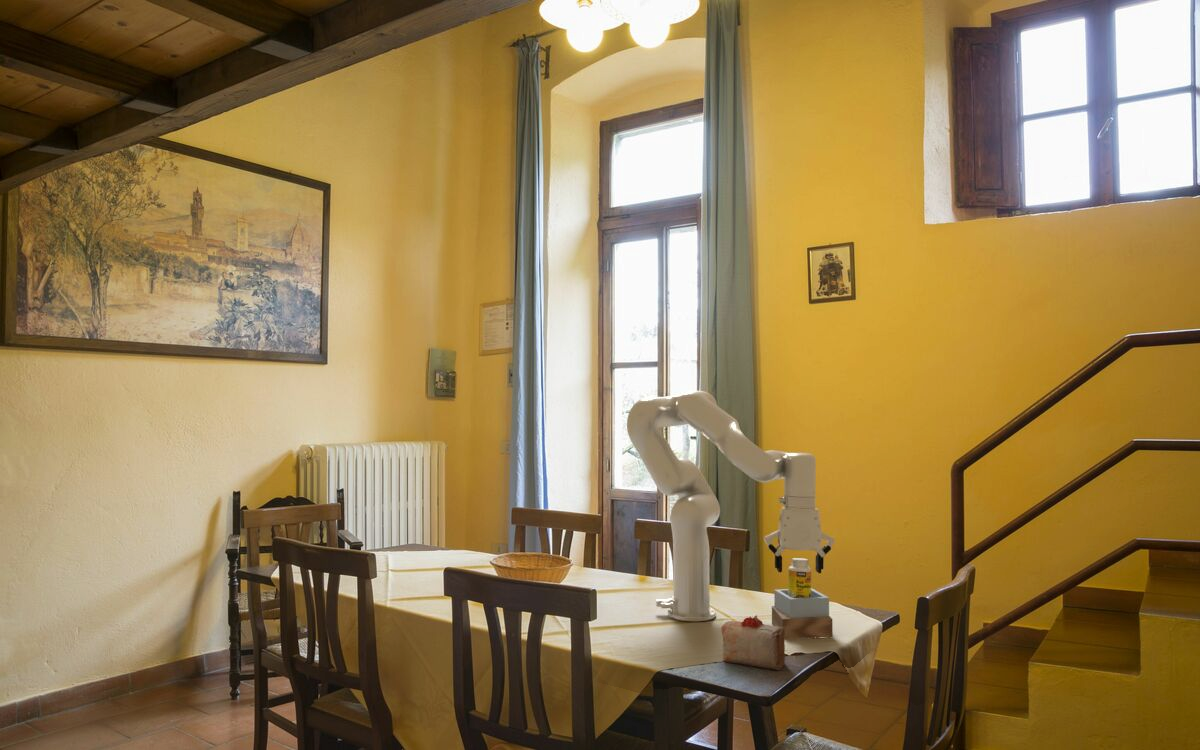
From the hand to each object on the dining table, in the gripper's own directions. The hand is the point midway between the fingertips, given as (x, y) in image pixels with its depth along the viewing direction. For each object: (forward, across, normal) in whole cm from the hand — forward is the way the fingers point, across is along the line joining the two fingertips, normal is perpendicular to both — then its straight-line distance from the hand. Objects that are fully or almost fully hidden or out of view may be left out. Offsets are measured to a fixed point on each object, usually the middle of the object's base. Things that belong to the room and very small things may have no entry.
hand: (798, 571), depth 202 cm
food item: (+15, -15, -25) cm, 33 cm away
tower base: (+15, +1, 0) cm, 15 cm away
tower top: (+10, +1, 0) cm, 10 cm away
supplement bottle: (+7, 0, 0) cm, 7 cm away
